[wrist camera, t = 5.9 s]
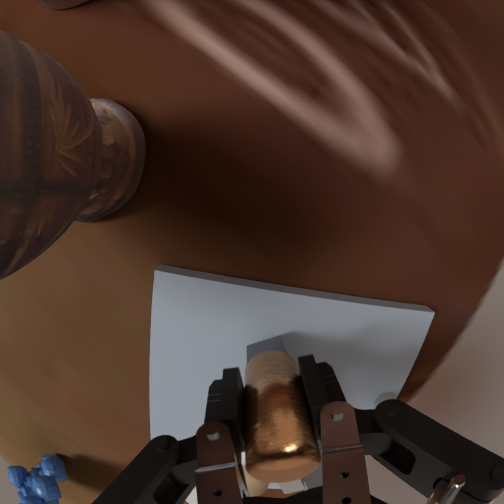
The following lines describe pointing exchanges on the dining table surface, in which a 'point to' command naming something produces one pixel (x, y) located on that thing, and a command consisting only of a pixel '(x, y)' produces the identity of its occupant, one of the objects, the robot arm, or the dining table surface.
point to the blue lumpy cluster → (39, 481)
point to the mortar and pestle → (57, 153)
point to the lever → (278, 421)
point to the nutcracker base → (265, 327)
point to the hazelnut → (255, 485)
